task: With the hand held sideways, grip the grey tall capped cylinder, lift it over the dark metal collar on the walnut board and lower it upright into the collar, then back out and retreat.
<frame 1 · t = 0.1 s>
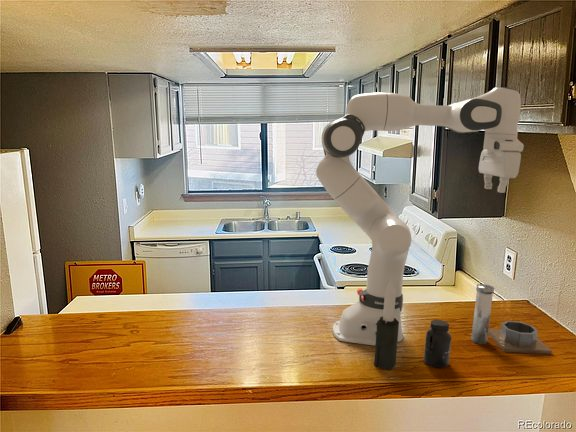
hand: (494, 190, 136), 48 cm above the counter, tool pointing down, fingers open, 8 cm apart
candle: (384, 365, 126), on the counter
duct collar: (517, 342, 143), on the counter
grey tall capped cylinder: (479, 340, 144), on the counter
supplement bottle: (435, 363, 129), on the counter
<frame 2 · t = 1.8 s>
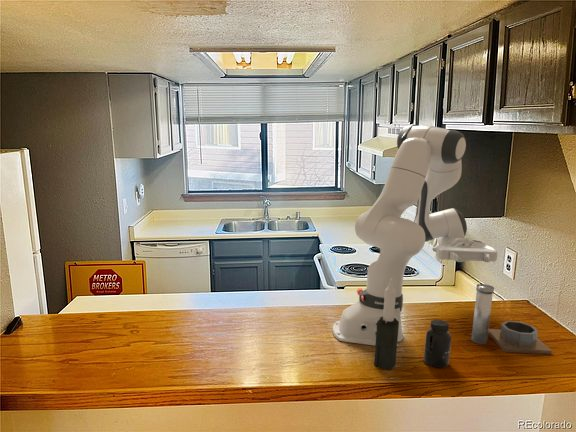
hand: (473, 259, 152), 23 cm above the counter, tool horizontal, fingers open, 8 cm apart
nothing on the counter moved.
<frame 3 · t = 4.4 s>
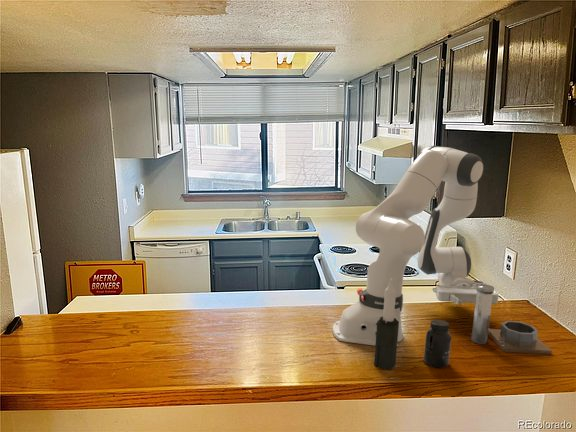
hand: (474, 303, 149), 10 cm above the counter, tool horizontal, fingers open, 8 cm apart
nothing on the counter moved.
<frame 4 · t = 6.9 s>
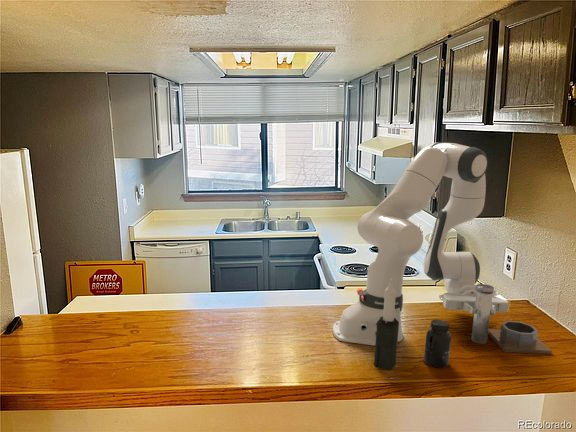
hand: (483, 311, 141), 10 cm above the counter, tool horizontal, fingers closed on grey tall capped cylinder, 5 cm apart
grey tall capped cylinder: (479, 340, 144), on the counter, touching gripper
everything else where it was.
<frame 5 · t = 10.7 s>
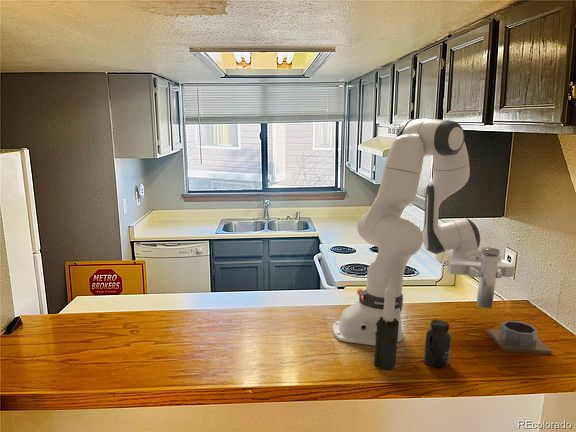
hand: (489, 275, 139), 22 cm above the counter, tool horizontal, fingers closed on grey tall capped cylinder, 5 cm apart
grey tall capped cylinder: (484, 305, 142), point 12 cm above the counter, touching gripper
everything else where it was.
when the fingers open (12 cm above the counter, at t = 15.0 s): grey tall capped cylinder drops 1 cm, resting on duct collar.
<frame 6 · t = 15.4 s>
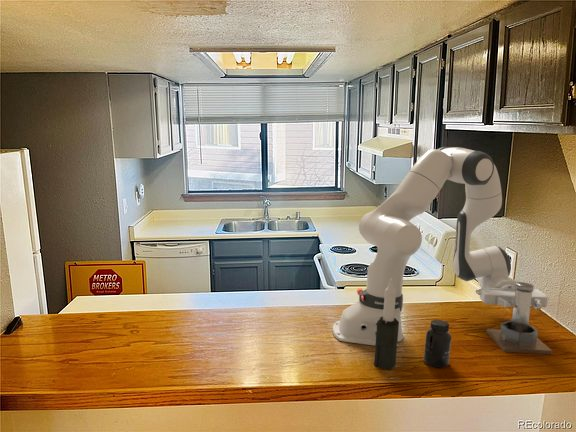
hand: (523, 306, 140), 13 cm above the counter, tool horizontal, fingers open, 8 cm apart
grey tall capped cylinder: (517, 339, 143), point 1 cm above the counter, touching duct collar
everything else where it was.
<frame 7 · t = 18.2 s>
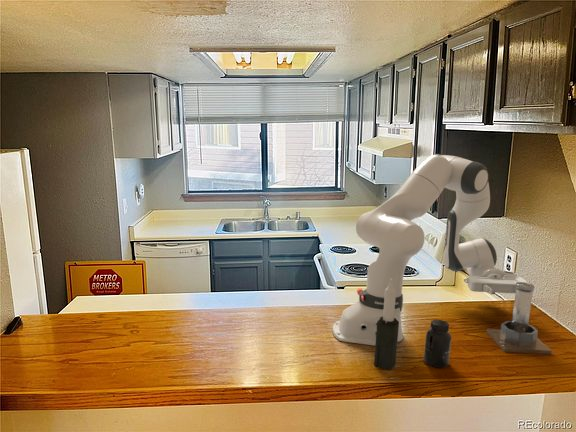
hand: (507, 292, 152), 13 cm above the counter, tool horizontal, fingers open, 8 cm apart
nothing on the counter moved.
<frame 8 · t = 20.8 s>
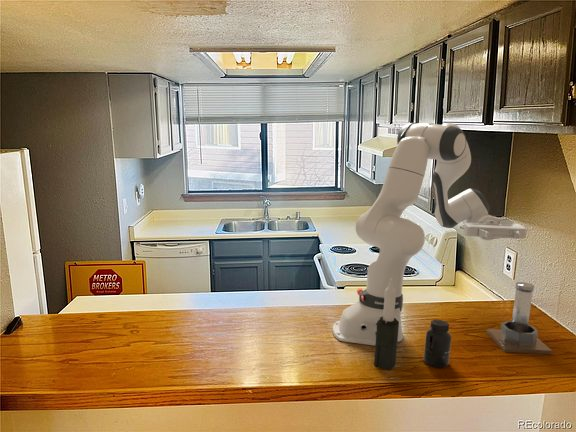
hand: (503, 235, 150), 32 cm above the counter, tool horizontal, fingers open, 8 cm apart
nothing on the counter moved.
at the end: grey tall capped cylinder 0.0 cm off-centre on the duct collar, point 1.2 cm above the duct collar's base; grey tall capped cylinder tilted 0°; the gripper is holding nothing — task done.
